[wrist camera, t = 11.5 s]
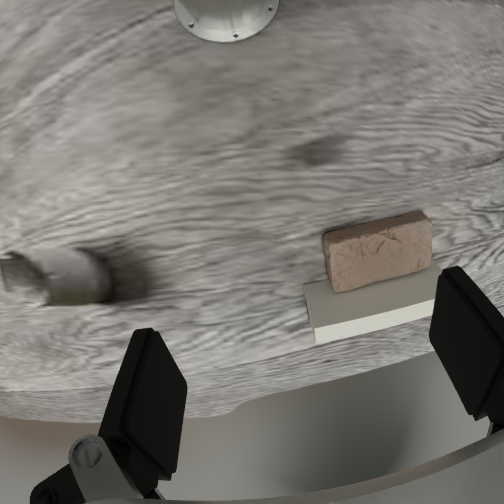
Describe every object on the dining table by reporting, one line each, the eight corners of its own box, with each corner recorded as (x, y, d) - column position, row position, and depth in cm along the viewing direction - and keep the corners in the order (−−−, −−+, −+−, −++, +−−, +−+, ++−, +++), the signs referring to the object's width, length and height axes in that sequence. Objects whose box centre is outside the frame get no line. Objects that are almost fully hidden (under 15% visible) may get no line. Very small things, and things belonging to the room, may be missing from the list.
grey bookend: (303, 284, 49) (314, 328, 41) (430, 256, 47) (459, 291, 39) (308, 320, 53) (318, 364, 44) (426, 292, 51) (451, 328, 42)
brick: (421, 207, 44) (436, 220, 39) (421, 254, 48) (434, 269, 43) (319, 230, 45) (325, 245, 41) (326, 278, 49) (333, 296, 45)
